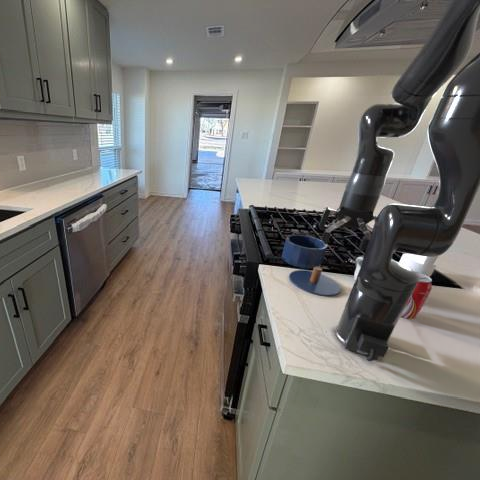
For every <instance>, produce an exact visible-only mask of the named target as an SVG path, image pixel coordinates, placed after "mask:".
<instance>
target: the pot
mask: <svg viewBox="0 0 480 480" xmlns="http://www.w3.org/2000/svg"><path fill="white" fill-rule="evenodd" d="M327 250H328V243H327V244H324V242H323V241H322V239H320V238H316V237H313V236H310V235H305V234H289V235H287V236H286V238H285V240H284V245H283V249H282V253H281V259H282V261H284V262H285V263H287V264H288V265H290V266H293V267H296V268H300V269H302V270H313V268H314V267H315V266H317V267H320V268H322V265H323V262H324V259H325V256H326V254H327V253H326V252H327ZM283 258H284V259H285V260H284V259H283Z"/></svg>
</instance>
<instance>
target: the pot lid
mask: <svg viewBox="0 0 480 480" xmlns="http://www.w3.org/2000/svg"><path fill="white" fill-rule="evenodd" d="M322 272H323V268H322V267H317V266H315V267H314V268H313V269H312V270H307V269H300V270H298V269H297V270H293V271H292V272H290V273H289V275H288V279H289V281H290V283H292V284H293V285H294V286H295V287H296V288H297V289H299V290H301V291H304V292H307V293H310V294H312V295H316V296H322V297H333V296H337V295H338V294H339V293H340V292H341V286H340V284H338V282H336V281H335V280H334V279H332V278H331V277H329V276H327V275H325V274H322Z"/></svg>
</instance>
